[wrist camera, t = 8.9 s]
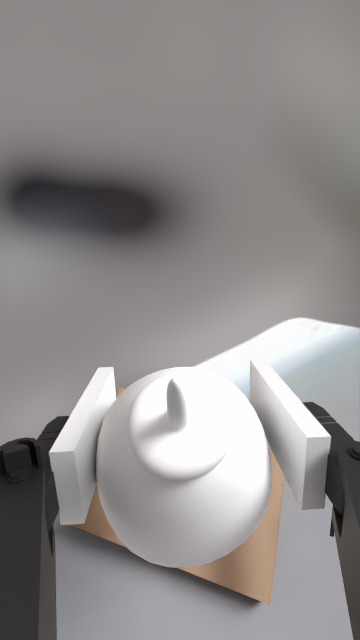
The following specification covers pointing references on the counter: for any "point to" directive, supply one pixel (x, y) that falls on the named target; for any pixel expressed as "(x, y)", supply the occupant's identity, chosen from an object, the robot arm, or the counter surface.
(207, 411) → the white pear with stem
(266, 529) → the walnut board
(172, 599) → the counter surface
